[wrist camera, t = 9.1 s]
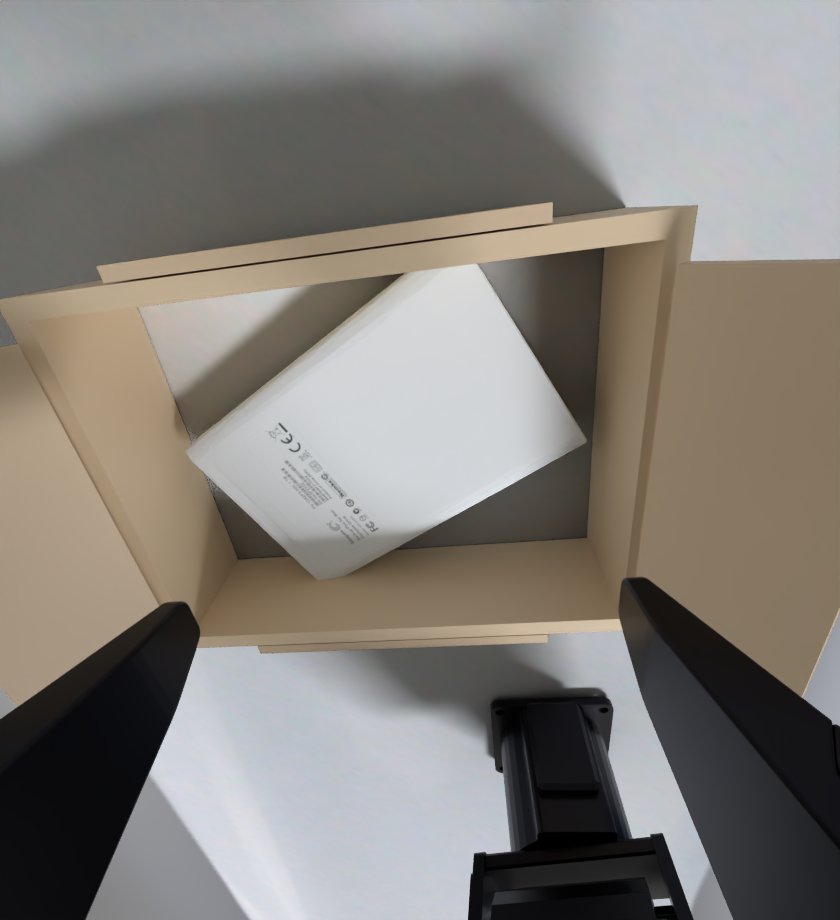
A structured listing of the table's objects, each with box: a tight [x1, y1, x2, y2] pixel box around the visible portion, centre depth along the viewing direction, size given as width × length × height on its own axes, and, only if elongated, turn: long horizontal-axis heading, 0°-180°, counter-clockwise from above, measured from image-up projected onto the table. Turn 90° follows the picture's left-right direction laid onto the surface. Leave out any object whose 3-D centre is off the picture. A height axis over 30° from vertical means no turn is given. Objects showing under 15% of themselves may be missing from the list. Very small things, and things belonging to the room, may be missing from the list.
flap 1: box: [0, 343, 159, 707], centre depth 13 cm, size 4×11×1 cm
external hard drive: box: [185, 264, 587, 580], centre depth 17 cm, size 2×8×12 cm
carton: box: [0, 202, 698, 653], centre depth 16 cm, size 14×17×4 cm
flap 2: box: [637, 259, 840, 698], centre depth 11 cm, size 4×11×1 cm
